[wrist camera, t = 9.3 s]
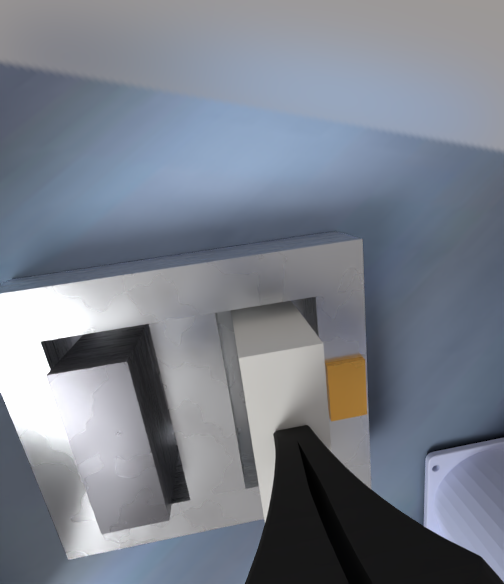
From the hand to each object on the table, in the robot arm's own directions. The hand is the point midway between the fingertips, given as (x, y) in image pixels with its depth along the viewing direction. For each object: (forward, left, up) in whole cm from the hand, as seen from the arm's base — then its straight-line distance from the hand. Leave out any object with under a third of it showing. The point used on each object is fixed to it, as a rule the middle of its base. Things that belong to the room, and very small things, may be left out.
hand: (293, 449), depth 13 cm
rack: (0, +4, -6) cm, 7 cm away
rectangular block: (0, 0, -6) cm, 6 cm away
